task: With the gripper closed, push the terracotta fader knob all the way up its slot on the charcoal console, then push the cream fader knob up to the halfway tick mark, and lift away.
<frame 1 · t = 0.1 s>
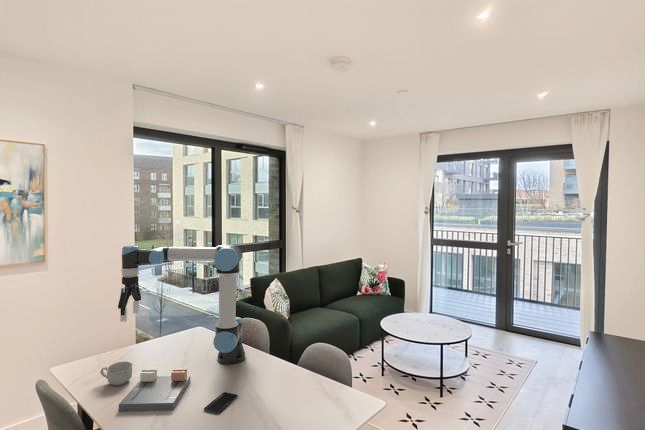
hand: (130, 317, 182), 28 cm above the table, tool pointing down, fingers open, 13 cm apart
fader terracotta: (179, 374, 168), point 6 cm above the table, slide at 0.0 cm
phone: (221, 404, 154), on the table
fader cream: (148, 374, 167), point 6 cm above the table, slide at 0.0 cm
teacup: (116, 382, 171), on the table
console: (157, 395, 160), on the table
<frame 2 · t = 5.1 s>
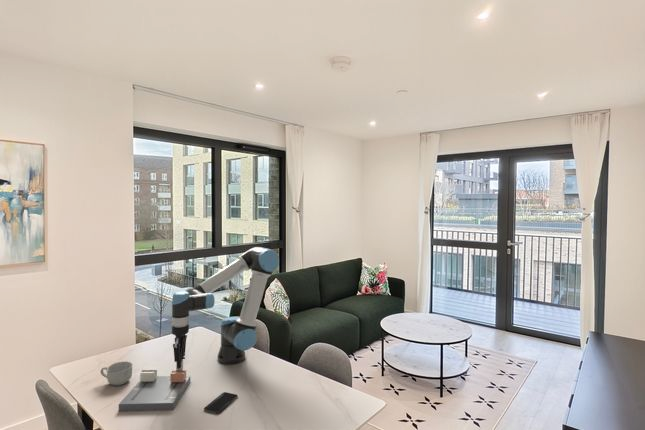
hand: (179, 373, 170), 5 cm above the table, tool pointing down, fingers closed
fader terracotta: (178, 375, 167), point 6 cm above the table, slide at 1.2 cm, touching gripper
everything else where it was.
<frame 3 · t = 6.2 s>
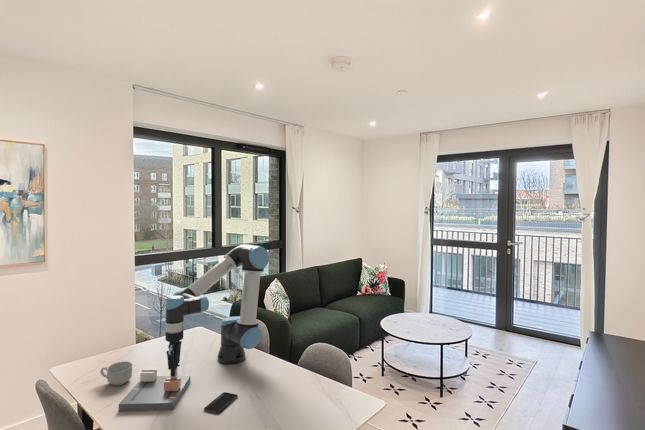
hand: (173, 382, 162), 5 cm above the table, tool pointing down, fingers closed
fader terracotta: (172, 383, 159), point 6 cm above the table, slide at 9.2 cm, touching gripper
everything else where it was.
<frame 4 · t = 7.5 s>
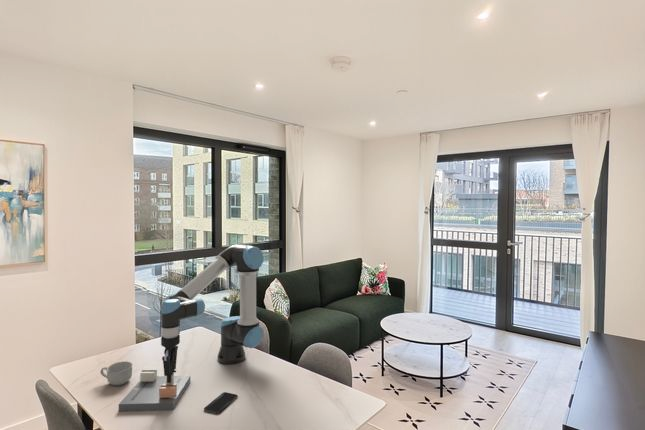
hand: (170, 388, 156), 5 cm above the table, tool pointing down, fingers closed
fader terracotta: (168, 390, 153), point 6 cm above the table, slide at 14.7 cm, touching gripper
everything else where it was.
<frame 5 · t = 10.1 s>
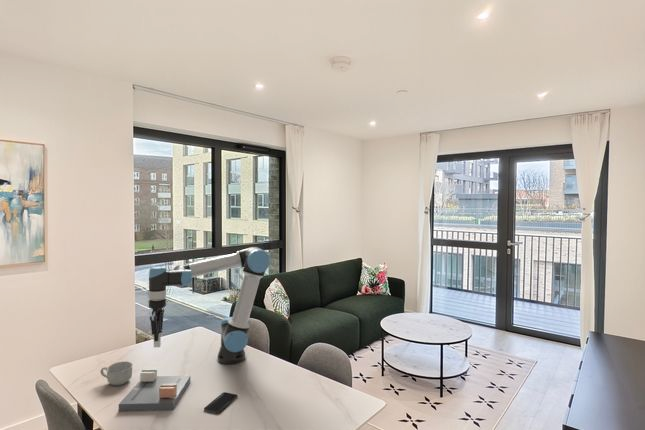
hand: (157, 346, 173), 16 cm above the table, tool pointing down, fingers closed
fader terracotta: (168, 390, 153), point 6 cm above the table, slide at 14.7 cm
everything else where it was.
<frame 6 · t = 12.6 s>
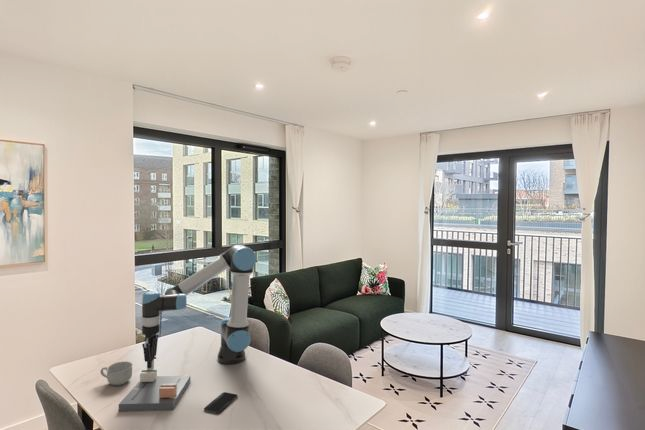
hand: (150, 373, 170), 5 cm above the table, tool pointing down, fingers closed
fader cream: (148, 374, 167), point 6 cm above the table, slide at 0.2 cm, touching gripper
everything else where it was.
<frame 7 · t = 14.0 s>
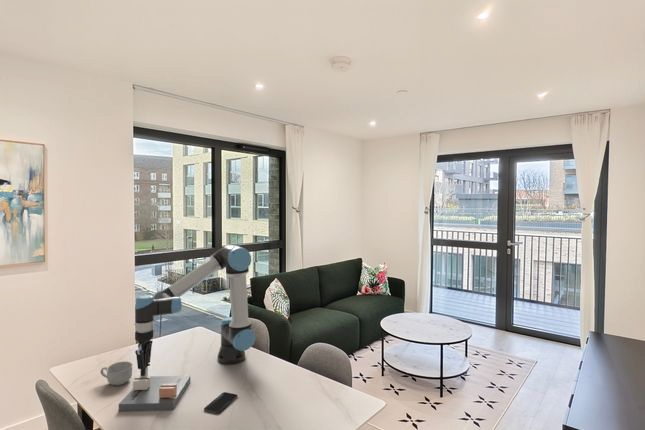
hand: (144, 381, 162), 5 cm above the table, tool pointing down, fingers closed
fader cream: (141, 382, 159), point 6 cm above the table, slide at 7.6 cm, touching gripper
everything else where it was.
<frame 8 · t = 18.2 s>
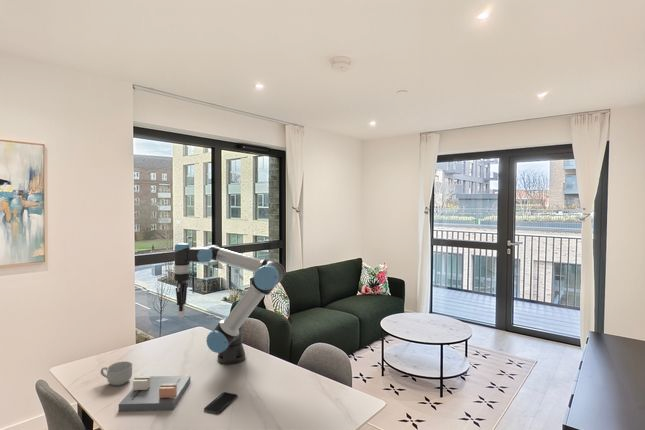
hand: (181, 316, 189), 26 cm above the table, tool pointing down, fingers closed
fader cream: (141, 382, 159), point 6 cm above the table, slide at 7.7 cm
everything else where it was.
at the end: fader terracotta slide at 14.7 cm; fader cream slide at 7.7 cm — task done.
